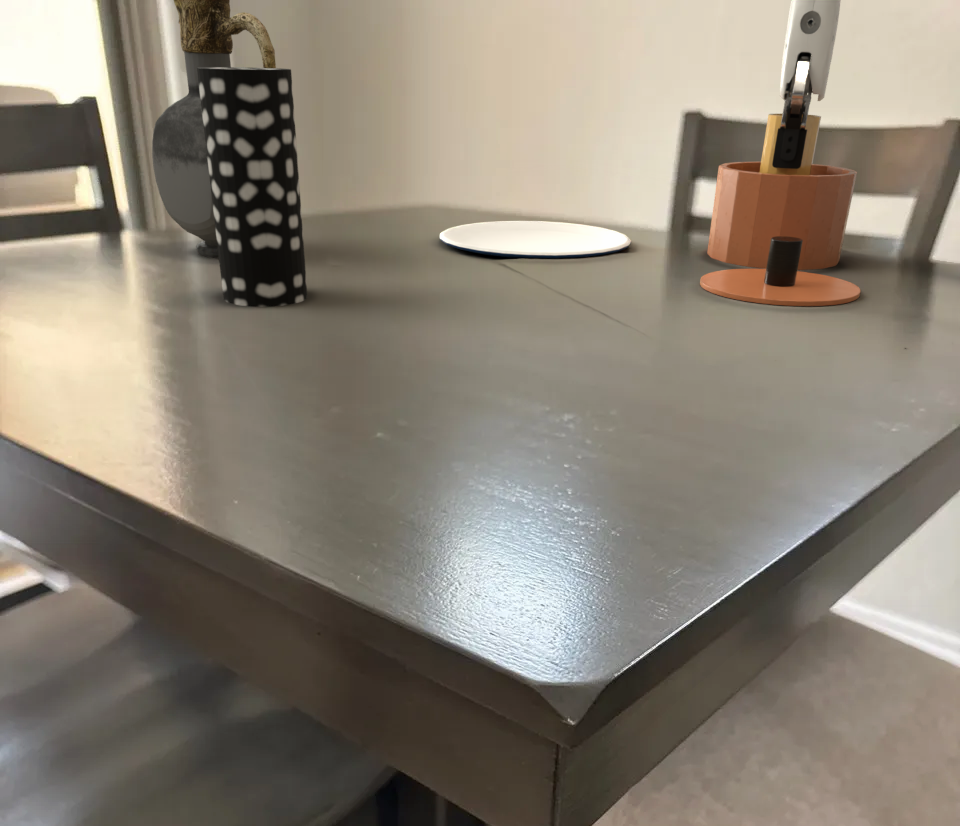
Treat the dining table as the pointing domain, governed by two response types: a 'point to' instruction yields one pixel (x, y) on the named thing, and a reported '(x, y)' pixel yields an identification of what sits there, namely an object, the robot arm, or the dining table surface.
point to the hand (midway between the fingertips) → (787, 163)
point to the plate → (534, 239)
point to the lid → (781, 281)
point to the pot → (780, 213)
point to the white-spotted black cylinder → (254, 183)
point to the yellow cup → (770, 142)
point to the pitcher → (198, 116)
